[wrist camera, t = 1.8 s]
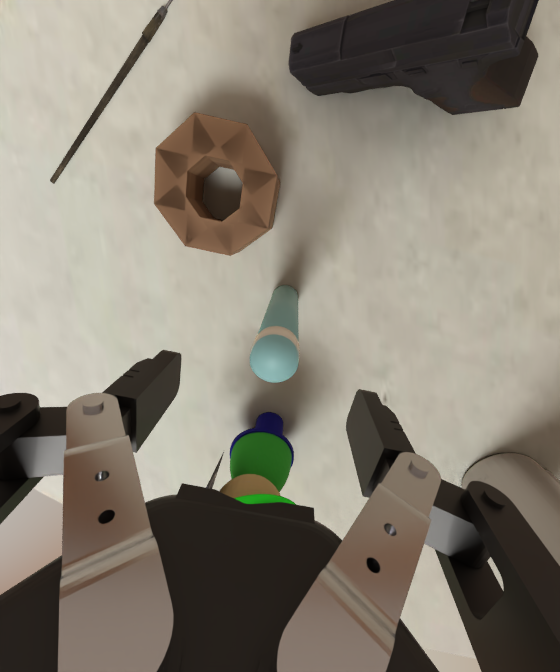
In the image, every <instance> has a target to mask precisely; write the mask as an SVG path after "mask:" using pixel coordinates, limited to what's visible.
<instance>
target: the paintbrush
mask: <svg viewBox="0 0 560 672" xmlns="http://www.w3.org/2000/svg"><path fill="white" fill-rule="evenodd" d="M171 2H172V0H169V1H168V3H167V4H166V6H165V7H164V6H162V7H161V8H160V9H159V10H158V11H157V13H156V14H155V16H154V17H153V18H152V20H151V21H150V22H149V24H148V25H147V27H146V28H145V29H144V31H143V32H142V34H143V35H142V37H141V38H140V40H139V41H138V43H137V44H136V46H135V48H134V49H133V51H132V52H131V54H130V55H129V57H128V59H127V60H126V62H125V63H124V65H123V66H122V68H121V69H120V71H119V73H118V74H117V76H116V77H115V79H114V80H113V82H112V84H111V85H110V87H109V88H108V90H107V91H106V93H105V95H104V96H103V98H102V99H101V101H100V102H99V104H98V106H97V107H96V109H95V110H94V112H93V113H92V115H91V117H90V118H89V120H88V121H87V123H86V124H85V126H84V128H83V129H82V131H81V132H80V134H79V135H78V137H77V139H76V140H75V142H74V143H73V145H72V146H71V148H70V150H69V151H68V153H67V154H66V156H65V157H64V159H63V161H62V162H61V164H60V165H59V167H58V168H57V170H56V172H55V173H54V175H53V176H52V178H51V179H50V181H51V182H52V183H55V182H56V180H57V179H58V177H59V176H60V174H61V173H62V171H63V170H64V168H65V167H66V165H67V164H68V162H69V161H70V159H71V158H72V156H73V155H74V153H75V152H76V150H77V149H78V147H79V146H80V144H81V143H82V141H83V140H84V138H85V137H86V135H87V134H88V132H89V131H90V129H91V128H92V126H93V125H94V123H95V122H96V120H97V119H98V117H99V116H100V114H101V113H102V111H103V110H104V108H105V107H106V105H107V104H108V103H109V101H110V100H111V98H112V97H113V95H114V94H115V92H116V91H117V89H118V88H119V86H120V85H121V83H122V82H123V80H124V79H125V77H126V76H127V74H128V73H129V71H130V70H131V68H132V67H133V65H134V64H135V62H136V61H137V59H138V58H139V56H140V55H141V53H142V52H143V50H144V49H145V47H146V46H147V44H148V43H149V42H150V41H151V39H152V37H153V36H154V34H155V33H156V31H157V29H158V28H159V26H160V25H161V23H162V21H163V20H164V18H165V16H166V14H167V10H166V9H167V8H168V6H169V5H170V3H171Z"/></svg>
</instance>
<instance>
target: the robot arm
mask: <svg viewBox="0 0 560 672" xmlns="http://www.w3.org/2000/svg"><path fill="white" fill-rule="evenodd" d="M180 371H181V354H180V353H177V352H172V351H167V350H162V351H161V352H160V353H159V354H158V355H156V356H155V357H154V358H153V359H149V358H147V359H145V360H142V361H140V362H137V363H136V364H135V365H134V366H132V367H131V368H130V369H129V371H127V372H126V373H124V374H123V376H121V377H120V378H119V379H117V380H116V381H115V382H114V383H113V384H112V385H111V386H109V387H108V388H107V389H106V390H105V391H104V392H102V393H92V394H87V395H84V396H81V397H79V398H77V399H75V400H73V401H72V402H71V403H70V404H69V405H68V407H40V406H39V400H38V398H37V397H36V396H35V395H32V394H28V393H12V394H6V395H2V396H0V524H1V523H2V522H3V521H4V519H5V518H6V517H7V516H8V515H9V514H10V513H11V512H12V511H13V510H14V509H15V508H16V506H17V505H18V504H19V503H20V502H21V501H22V500H23V499H24V498H25V496H27V494H28V493H29V492H30V491H31V490H32V489H33V488H34V487H35V486H36V485H37V484H38V482H39V481H40V480H41V479H42V478H43V477H44V476H53V475H63V534H62V535H63V536H62V540H63V541H62V556H60V557H58V558H57V559H55V560H54V561H52V562H51V563H49V564H48V565H46V566H44V567H43V568H41V569H40V570H38V571H37V572H35V573H34V574H32V575H31V576H29V577H27V578H26V579H24V580H23V581H21V582H20V583H18V584H17V585H15V586H14V587H12V588H10V589H9V590H7V591H6V592H4V593H3V594H1V595H0V672H439V671H438V670H437V668H436V667H435V665H434V664H433V663H432V661H431V660H430V659H429V657H428V656H427V654H426V653H425V652H424V650H423V649H422V648H421V646H420V645H419V643H418V642H417V641H416V639H415V638H414V637H413V635H412V634H411V633H410V631H409V630H408V628H407V627H406V626H405V624H404V623H403V622H402V620H401V619H400V616H401V613H402V610H403V607H404V603H405V600H406V597H407V594H408V591H409V588H410V585H411V582H412V579H413V576H414V573H415V570H416V567H417V564H418V560H419V557H420V554H421V551H422V548H423V545H424V544H426V545H428V546H430V547H432V548H434V549H435V551H436V554H437V556H438V559H439V561H440V564H441V567H442V569H443V572H444V574H445V577H446V580H447V582H448V585H449V588H450V590H451V593H452V595H453V598H454V601H455V603H456V606H457V608H458V611H459V614H460V616H461V619H462V622H463V624H464V627H465V629H466V632H467V635H468V637H469V640H470V642H471V645H472V648H473V650H474V653H475V656H476V658H477V661H478V663H479V666H480V669H481V671H482V672H560V481H559V480H558V479H557V478H556V477H555V476H554V475H553V474H552V473H551V472H550V471H548V470H544V469H543V468H542V467H541V466H540V465H539V464H538V463H537V462H536V461H534V460H533V459H532V458H530V457H528V456H525V455H522V454H517V453H504V454H497V455H493V456H490V457H488V458H485V459H483V460H481V461H479V462H478V463H476V464H475V465H474V466H472V467H471V468H470V469H469V470H468V472H467V473H466V474H465V476H464V478H463V481H462V488H460V487H458V486H456V485H453V484H451V483H449V482H446V481H444V480H442V479H441V476H440V473H439V472H438V470H437V469H436V468H435V466H434V465H433V464H432V463H430V462H429V461H428V460H426V459H425V458H423V457H422V456H420V455H417V454H416V453H415V451H414V450H413V448H412V446H411V444H410V442H409V440H408V438H407V436H406V434H405V433H404V432H403V429H402V427H401V425H400V424H399V421H398V419H397V417H396V416H395V414H394V413H393V412H392V411H391V410H390V409H389V408H388V407H387V406H385V405H382V403H381V401H380V399H379V397H378V395H377V393H375V392H370V391H365V390H360V389H359V390H358V391H357V392H356V395H355V398H354V400H353V403H352V406H351V409H350V412H349V414H348V417H347V422H346V431H347V435H348V439H349V443H350V447H351V451H352V455H353V459H354V463H355V467H356V471H357V475H358V479H359V483H360V487H361V491H362V495H363V496H364V497H369V500H368V501H367V503H366V504H365V506H364V507H363V509H362V511H361V512H360V514H359V515H358V517H357V519H356V520H355V522H354V523H353V525H352V526H351V528H350V530H349V531H348V533H347V534H346V536H345V537H344V539H343V541H342V540H341V539H340V538H339V537H338V536H337V535H336V534H335V533H334V532H332V531H331V530H330V529H328V528H327V527H326V526H324V525H322V524H321V523H319V522H317V521H315V520H314V508H311V507H306V506H300V505H295V504H290V503H284V502H274V503H259V504H245V503H243V502H241V501H238V500H236V499H234V498H232V497H230V496H228V495H225V494H223V493H221V492H219V491H217V490H215V489H209V488H204V487H198V486H193V485H188V484H182V485H181V487H180V489H179V491H178V494H177V495H169V496H164V497H160V498H156V499H153V500H151V501H148V502H146V503H145V501H144V497H143V493H142V489H141V484H140V480H139V476H138V472H137V467H136V463H135V459H134V455H133V452H135V453H137V451H138V450H139V448H140V447H141V445H142V444H143V443H144V441H145V440H146V438H147V437H148V435H149V434H150V433H151V431H152V430H153V428H154V427H155V425H156V424H157V423H158V421H159V420H160V418H161V417H162V415H163V414H164V413H165V411H166V410H167V408H168V407H169V405H170V404H171V403H172V401H173V400H174V398H175V397H176V395H177V392H178V389H179V384H180ZM490 557H491V558H492V559H493V561H494V563H495V565H496V567H497V569H498V570H499V572H500V574H501V577H502V580H503V585H504V591H503V590H502V588H501V586H500V584H499V583H498V581H497V579H496V577H495V575H494V573H493V571H492V569H491V567H490V565H489V564H488V562H487V561H488V559H489V558H490Z"/></svg>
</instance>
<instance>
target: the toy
mask: <svg viewBox="0 0 560 672" xmlns="http://www.w3.org/2000/svg"><path fill="white" fill-rule="evenodd" d="M282 434H283V420H282V418H281V417H280V416H279V415H277V414H276V413H272V412H266V413H263V414H261V415H260V416H259V417H258V418H257V421H256V426H255V428H252V429H248V430H246V431H243V432H242V433H240V434H239V435H238V436H237V437H236V438H235V439H234V441H233V442H232V445H231V448H230V472H231V478H232V480H230V481H229V482H228V483H227V484H225V485H224V486H223V487H222V489H221V490H220V491H219V492H221V493H223V494H225V495H228V496H230V497H232V498H234V499H236V500H238V501H241V502H243V503H245V504H259V503H274V502H284V503H290V504H295V503H294V502H292V501H291V500H289V499H287V498H284V497H282V496H280V493H279V492H280V490H281V489H282V488H283V486H284V484H285V482H286V480H287V478H288V475H289V472H290V468H291V466H292V464H293V460H294V451H293V448H292V445H291V443H290V442H289V441H288V439H287V438H286V437H284V436H283V435H282ZM223 453H224V452H223ZM222 456H223V454H222ZM222 456H221V459H220V461H219V463H218V465H217V467H216V469H215V471H214V473H213V475H212V477H211V479H210V481H209V483H208V485H207V487H206V488H209V489H212V487H213V484H214V481H215V478H216V475H217V472H218V469H219V466H220V463H221V460H222ZM295 505H296V504H295Z"/></svg>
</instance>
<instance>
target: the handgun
mask: <svg viewBox="0 0 560 672" xmlns="http://www.w3.org/2000/svg"><path fill="white" fill-rule="evenodd" d="M538 1H539V0H394V1H391V2H388V3H385V4H382V5H379V6H376V7H373V8H370V9H367V10H364V11H361V12H358V13H355V14H352V15H350V16H345V17H342V18H339V19H336V20H333V21H330V22H327V23H324V24H321V25H318V26H315V27H312V28H309V29H306V30H303V31H300V32H297V33H294V35H293V36H292V38H291V47H290V56H289V69H290V73H291V74H292V75H293V76H294V77H296V78H297V79H298V80H299V81H300V82H301V83H302V84H303V85H304V86H306V88H307V89H308V90H309V91H310V92H312V93H313V94H315V95H318V96H321V95H327V94H333V93H339V92H345V93H354V92H359V91H364V90H368V89H376V88H384V87H390V86H405V87H409V88H411V89H412V90H413V92H414V93H415V94H417V95H419V96H421V97H423V98H425V99H428V100H430V101H432V102H433V103H435V104H436V105H437V106H439V107H440V108H442V109H443V110H445V111H447V112H448V113H451V114H452V115H455V114H463V113H472V112H480V111H489V110H497V109H503V108H504V109H506V108H513V107H519V106H520V104H521V101H522V99H523V96H524V93H525V91H526V88H527V85H528V82H529V80H530V77H531V74H532V72H533V69H534V66H535V64H536V61H537V58H538V53H537V50H536V48H535V46H534V44H533V42H532V41H531V40H530V39H529V38H528V37H526V35H527V32H528V29H529V26H530V23H531V21H532V18H533V15H534V12H535V9H536V6H537V4H538Z"/></svg>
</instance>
